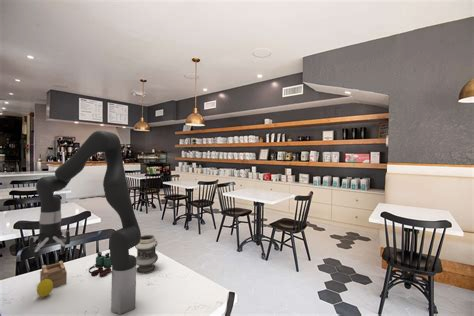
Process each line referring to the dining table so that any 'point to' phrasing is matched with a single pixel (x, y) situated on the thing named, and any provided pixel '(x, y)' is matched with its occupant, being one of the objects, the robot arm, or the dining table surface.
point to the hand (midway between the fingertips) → (49, 256)
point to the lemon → (44, 287)
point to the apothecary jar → (146, 254)
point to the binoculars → (101, 265)
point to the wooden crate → (54, 274)
